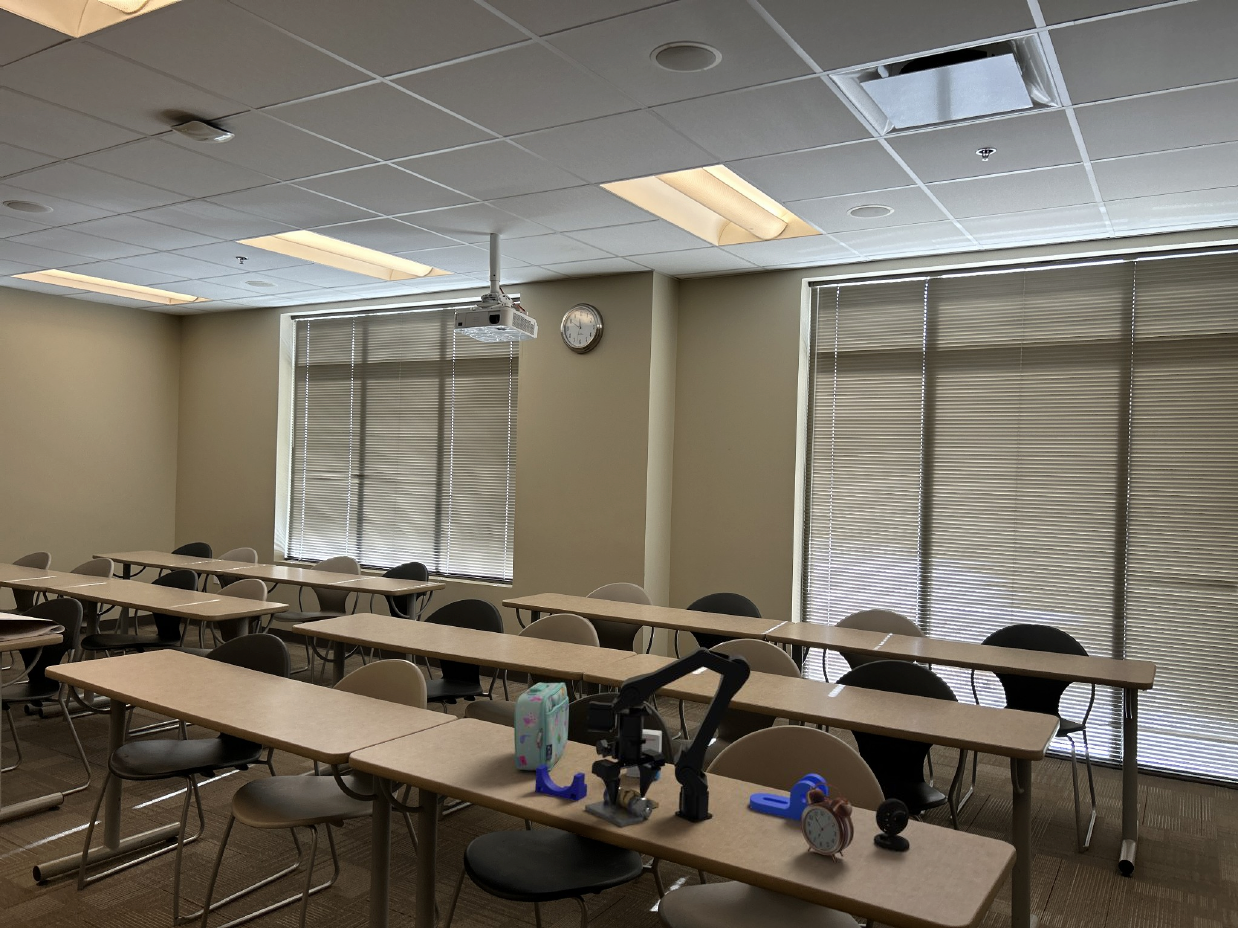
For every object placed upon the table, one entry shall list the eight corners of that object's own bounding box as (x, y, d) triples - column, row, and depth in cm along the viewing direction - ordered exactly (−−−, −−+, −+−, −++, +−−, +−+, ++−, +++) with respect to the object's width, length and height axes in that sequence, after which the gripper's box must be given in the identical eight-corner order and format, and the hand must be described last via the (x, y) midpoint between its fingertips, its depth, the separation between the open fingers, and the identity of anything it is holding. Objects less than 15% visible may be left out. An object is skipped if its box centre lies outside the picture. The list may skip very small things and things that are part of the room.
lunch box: (547, 779, 225) (551, 695, 226) (509, 775, 226) (513, 692, 227) (569, 750, 251) (573, 675, 252) (535, 747, 253) (538, 672, 254)
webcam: (885, 853, 187) (887, 805, 187) (866, 839, 194) (867, 793, 194) (917, 850, 189) (918, 803, 189) (896, 837, 196) (898, 792, 197)
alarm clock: (797, 850, 186) (800, 779, 187) (810, 844, 190) (813, 774, 190) (843, 867, 179) (845, 793, 179) (855, 860, 182) (857, 788, 182)
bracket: (827, 814, 209) (829, 776, 209) (818, 825, 202) (819, 785, 202) (756, 799, 218) (757, 762, 218) (744, 808, 210) (746, 771, 211)
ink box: (661, 774, 233) (663, 730, 233) (657, 780, 228) (659, 735, 228) (629, 770, 235) (631, 726, 235) (625, 776, 230) (627, 731, 230)
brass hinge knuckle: (658, 806, 209) (660, 787, 209) (626, 812, 202) (628, 792, 202) (647, 801, 212) (649, 782, 212) (614, 807, 205) (616, 787, 205)
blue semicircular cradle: (586, 796, 214) (587, 771, 214) (578, 801, 210) (579, 776, 210) (544, 787, 219) (545, 763, 220) (535, 792, 215) (536, 767, 216)
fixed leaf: (655, 818, 201) (656, 798, 201) (623, 827, 194) (624, 807, 194) (614, 800, 212) (615, 781, 212) (583, 808, 205) (583, 789, 205)
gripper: (636, 720, 218) (634, 783, 217) (578, 731, 205) (575, 798, 205) (668, 730, 209) (665, 796, 209) (609, 742, 197) (605, 812, 196)
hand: (627, 800), depth 205 cm, fingers open, 9 cm apart
